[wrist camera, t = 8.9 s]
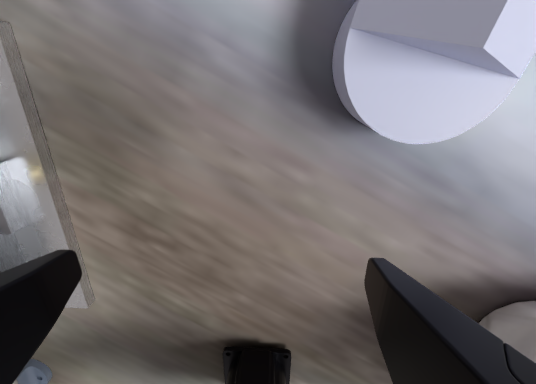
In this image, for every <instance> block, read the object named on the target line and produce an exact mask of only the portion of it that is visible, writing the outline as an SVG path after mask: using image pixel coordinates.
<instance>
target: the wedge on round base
mask: <svg viewBox="0 0 536 384" xmlns="http://www.w3.org/2000/svg"><path fill="white" fill-rule="evenodd" d="M535 52H536V0H356V1H355V3H354V4H353V5H352V7H351V8H350V10H349V11H348V13H347V14H346V16H345V18H344V20H343V22H342V24H341V26H340V29H339V32H338V34H337V37H336V41H335V45H334V51H333V58H332V71H333V79H334V84H335V87H336V91H337V93H338V96H339V98H340V100H341V102H342V103H343V105H344V107H345V108H346V109H347V110H348V112H349V113H350V114H351V115H352V116H353V117H354V118H356V119H357V120H358V121H359V122H361V123H363V124H364V125H366V126H367V127H369V128H371V129H372V130H374V131H376V132H377V133H379V134H381V135H382V136H384V137H387V138H389V139H391V140H394V141H398V142H402V143H409V144H428V143H435V142H439V141H443V140H447V139H450V138H452V137H455V136H457V135H460V134H462V133H464V132H466V131H467V130H469V129H471V128H473V127H474V126H476V125H477V124H479V123H480V122H482V121H483V120H484V119H485V118H487V117H488V116H489V115H490V114H491V113H493V112H494V111H495V110H496V109H497V108H498V107H499V106H500V105H501V104H502V103H503V101H504V100H505V99H506V98H507V96H508V95H509V94H510V93H511V92H512V90H513V89H514V87H515V85H516V84H517V82H518V81H519V79H520V78H521V76H522V74H523V73H524V71H525V69H526V67H527V66H528V64H529V62H530V61H531V59H532V57H533V55H534V54H535Z"/></svg>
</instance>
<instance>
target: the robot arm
mask: <svg viewBox="0 0 536 384" xmlns="http://www.w3.org/2000/svg"><path fill="white" fill-rule="evenodd" d="M81 277H82V269H81V266H80V263H79V260H78V257H77V254H76V252H75V251H73V250H64V249H60V250H56V251H54V252H51V253H49V254H46V255H44V256H41V257H39V258H36V259H33V260H31V261H28V262H26V263H23V264H21V265H18V266H16V267H13V268H11V269H8V270H6V271H3V272H0V384H13V383H14V381H15V380H16V379H17V377H18V376H19V374H20V373H21V371H22V370H23V369H24V367H25V366H26V364H27V363H28V362H29V360H30V359H31V357H32V356H33V354H34V353H35V352H36V350H37V349H38V347H39V346H40V345H41V343H42V342H43V340H44V339H45V337H46V336H47V335H48V333H49V332H50V330H51V329H52V327H53V326H54V324H55V322H56V321H57V319H58V318H59V316H60V314H61V312H62V311H63V309H64V307H65V306H66V304H67V302H68V300H69V299H70V297H71V295H72V293H73V292H74V290H75V288H76V287H77V285H78V283H79V281H80V280H81ZM365 290H366V294H367V298H368V302H369V307H370V311H371V315H372V319H373V324H374V328H375V332H376V336H377V339H378V342H379V345H380V348H381V351H382V354H383V356H384V359H385V362H386V365H387V368H388V371H389V373H390V376H391V379H392V382H393V384H536V363H535V362H533V361H532V360H530V359H529V358H527V357H526V356H525V355H523V354H522V353H520V352H519V351H517V350H516V349H514V348H513V347H512V346H510V345H509V344H507V343H503V341H502V340H501V339H500V338H498V337H497V336H496V335H494V334H493V333H491V332H490V331H488V330H487V329H485V328H484V327H483V326H481V325H480V324H478V323H477V322H475V321H474V320H472V319H471V318H470V317H468V316H467V315H465V314H464V313H462V312H461V311H459V310H458V309H457V308H455V307H454V306H452V305H451V304H449V303H448V302H446V301H445V300H444V299H442V298H441V297H439V296H438V295H436V294H435V293H433V292H432V291H431V290H429V289H428V288H426V287H425V286H423V285H422V284H420V283H419V282H418V281H416V280H415V279H413V278H412V277H410V276H409V275H407V274H406V273H405V272H403V271H402V270H400V269H399V268H397V267H396V266H394V265H393V264H392V263H390V262H389V261H387V260H386V259H384V258H370V259H369V260H368V264H367V269H366V275H365ZM223 362H224V375H225V384H289V381H290V366H291V351H290V350H288V349H271V348H248V347H225V348H224V351H223Z"/></svg>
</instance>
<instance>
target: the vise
mask: <svg viewBox="0 0 536 384" xmlns="http://www.w3.org/2000/svg"><path fill="white" fill-rule="evenodd" d="M51 378H52V372H51V370H50V369H49V368H48V367H47V366H46V365H45V364H43V363H42V362H40V361H38V360H35V359H30V360H29V362H28V363H27V364H26V366H25V367H24V369H23V370H22V371H21V373H20V374H19V376H18V377H17V379H16V380H15V381H14V383H13V384H48V382H49V381H50V380H51Z"/></svg>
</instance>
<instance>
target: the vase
mask: <svg viewBox="0 0 536 384" xmlns="http://www.w3.org/2000/svg"><path fill="white" fill-rule="evenodd" d="M479 324H480V325H481V326H483V327H484V328H485V329H487V330H488V331H490V332H491V333H493V334H494V335H496V336H497V337H498V338H500V339H501V340H502V341H503V343H507V344H509V345H510V346H512V347H513V348H514V349H516V350H517V351H519V352H520V353H522V354H523V355H525V356H526V357H527V358H529V359H530V360H532V361H533V362H535V363H536V301H526V302H516V303H512V304H510V305H507V306H504V307H502V308H499V309H496V310H494V311H493V312H491V313H490V314H488V315H487V316H485V317H484V318H483V319H482V320H481V321H480V322H479Z"/></svg>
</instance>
